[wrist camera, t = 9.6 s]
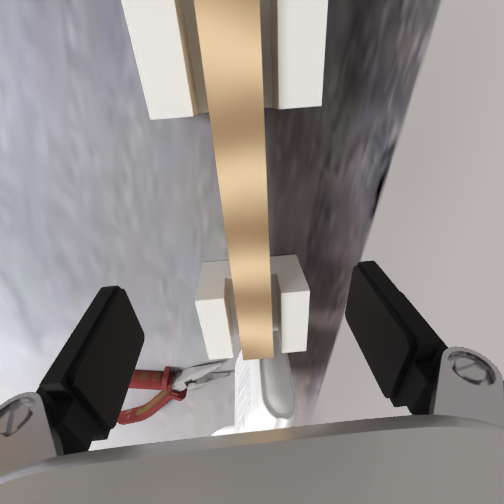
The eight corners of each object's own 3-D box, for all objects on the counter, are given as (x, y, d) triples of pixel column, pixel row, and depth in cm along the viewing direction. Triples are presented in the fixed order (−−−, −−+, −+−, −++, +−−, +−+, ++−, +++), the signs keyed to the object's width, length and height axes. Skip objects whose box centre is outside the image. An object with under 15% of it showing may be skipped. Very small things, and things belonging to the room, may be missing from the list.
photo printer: (260, 370, 38) (269, 477, 27) (231, 366, 37) (229, 475, 26) (286, 321, 33) (310, 429, 22) (254, 315, 32) (262, 424, 21)
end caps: (142, -33, 16) (98, -93, 11) (303, -46, 16) (334, -111, 11) (213, 316, 32) (209, 359, 26) (294, 309, 32) (306, 350, 27)
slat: (197, -29, 14) (184, -68, 11) (251, -33, 14) (256, -74, 11) (242, 328, 29) (243, 360, 25) (269, 326, 29) (273, 357, 25)
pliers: (240, 382, 40) (240, 399, 38) (125, 412, 43) (119, 429, 40) (210, 335, 34) (208, 352, 32) (79, 372, 37) (69, 390, 35)
